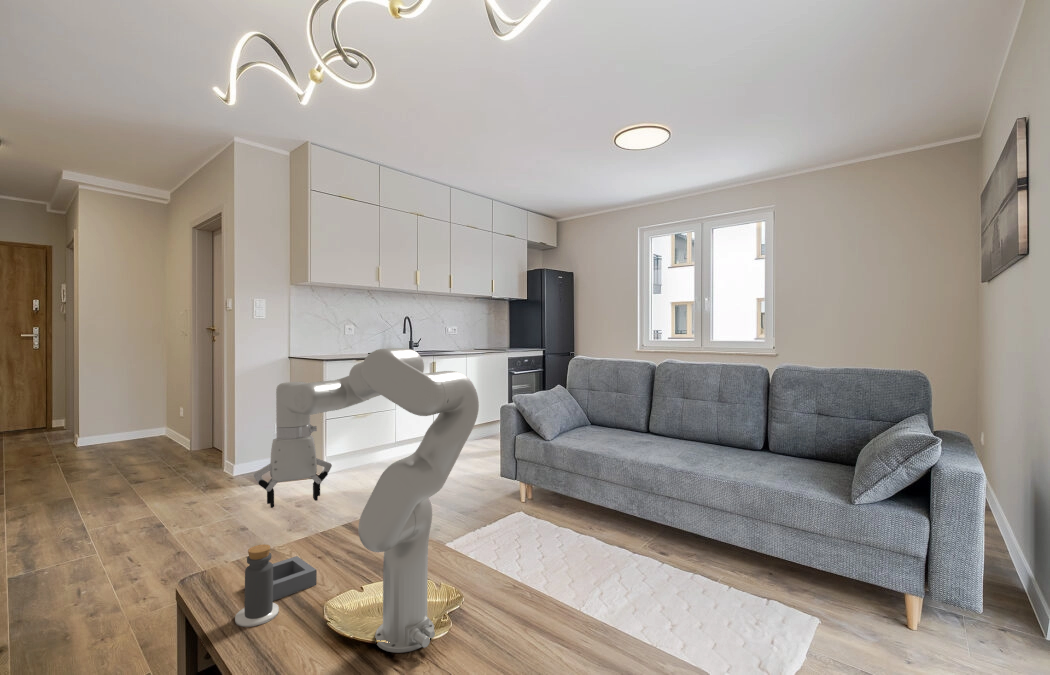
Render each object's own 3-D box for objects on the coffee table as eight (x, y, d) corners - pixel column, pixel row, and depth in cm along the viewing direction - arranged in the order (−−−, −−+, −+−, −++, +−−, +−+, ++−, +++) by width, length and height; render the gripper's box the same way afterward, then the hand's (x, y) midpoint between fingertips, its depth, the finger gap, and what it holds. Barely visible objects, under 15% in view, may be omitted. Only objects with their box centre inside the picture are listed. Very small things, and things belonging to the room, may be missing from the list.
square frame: (316, 584, 130) (316, 569, 130) (268, 602, 121) (268, 586, 121) (296, 570, 138) (296, 556, 138) (250, 586, 129) (250, 570, 129)
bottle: (264, 619, 112) (264, 554, 112) (238, 619, 113) (239, 553, 113) (277, 605, 118) (278, 543, 118) (253, 605, 118) (254, 542, 118)
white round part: (285, 615, 116) (285, 611, 116) (243, 631, 109) (243, 628, 109) (269, 601, 122) (269, 597, 122) (229, 616, 115) (229, 612, 115)
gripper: (328, 427, 128) (329, 492, 128) (252, 433, 119) (253, 504, 119) (333, 431, 121) (334, 500, 121) (253, 439, 113) (254, 513, 113)
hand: (294, 502), depth 120 cm, fingers open, 9 cm apart
